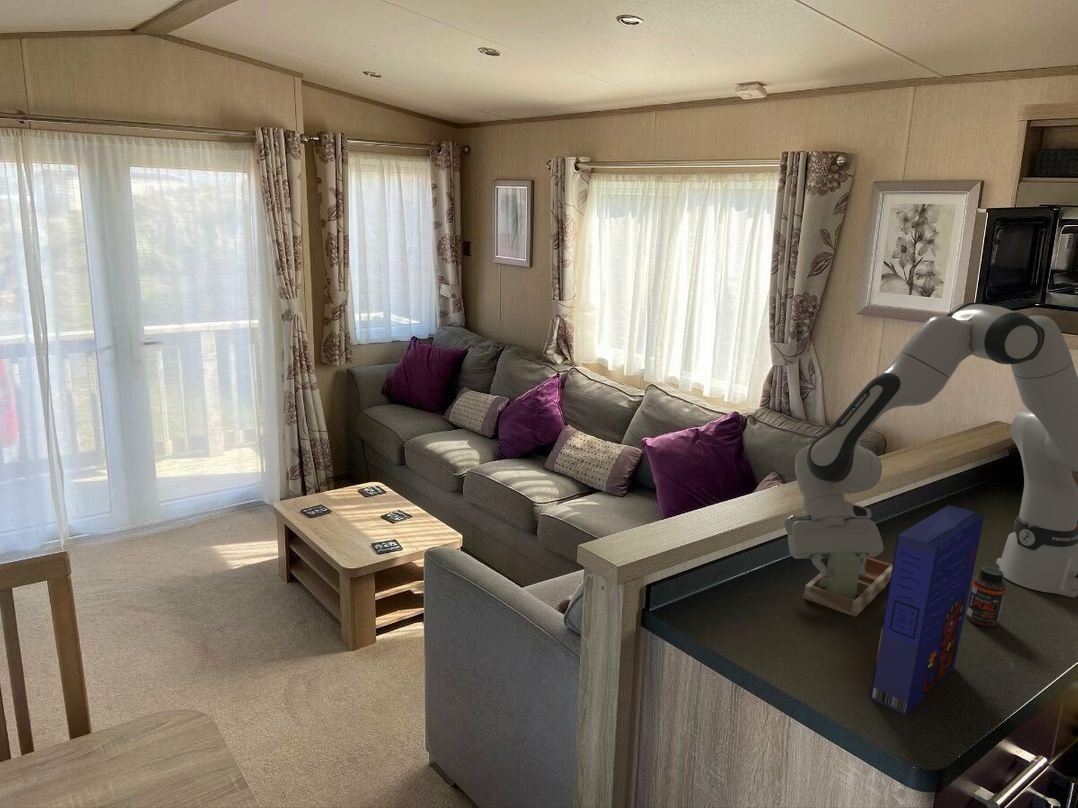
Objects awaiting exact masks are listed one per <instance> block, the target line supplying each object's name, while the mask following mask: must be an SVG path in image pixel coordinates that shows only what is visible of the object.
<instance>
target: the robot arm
mask: <svg viewBox="0 0 1078 808" xmlns="http://www.w3.org/2000/svg"><path fill="white" fill-rule="evenodd" d="M1061 331H1062V330H1060V328H1059V326H1058V325H1057V323H1056V322H1055V321H1054V320H1053V319H1052V318H1050V317H1048V316H1045V315H1029V316H1028V315H1026V314H1024V313H1021V312H1017V311H1014V310H1011V309H1009V308H1006V307H1002V306H999V305H990V304H985V303H982V302H976V301H973V302H964V303H961V304H959V305H957V306H955V307H953V308H952V309H951V310H950V311H948V313H946V314H945V315H943V314H942V315H934V316H932V317H930V318H929V319H927V320H926V321H925V322H924V323H923V324H921V326H920V327H919V328H918V329H917V331H916V332H915V333H914V334H913V335H912V336H911V337H910V339H909V340H908V341H907V342H906V343H905V345H904V346H903V348H902V349H901V351H900V352H898V353H899V354H898V355H897V357H896V358H895V359H894V360H893V361H892V362H891V363H890V364H889V366H888V367H887V368H886V369H885V370H884V371H883V372H882V373H880V374H878V375H876V376H875V377H873V379H872V380H870V382H868V383H867V384H866V385H865V387H864V388H863V389H862V390H861V391H860V392H859V393H858V394H857V396H856V397H855V398H854V399H853V401H851V402H850V404H849V405H848V406H847V408H845V410H844V411H843V412H842V413H841V415H840V416H839V417H838V418H837V419H836V421H835V422H834V423H833V424H832V425H831V426H830V427H829V428H827V430H824V432H822V433H820V434H819V435H818V436H817V437H816V438H815V439H814V440H813V441H812V442H811V444H810V445H806V446H805V447H803V448H802V449H800V451H798V452H797V454H796V456H795V460H794V469H795V470H794V471H795V476H796V482H797V486H798V489H799V491H800V493H801V495H802V499H803V509H804V512H805V515H790V516H789V517H787V518H786V519H785V521H784V528H785V531H786V533H787V542H788V543H787V544H788V550H789V554H790V555H791V557H793V558H794V559H795V560H796V559H811V563H812V564H813V566H814V567H816V569H817V570H818V571H819V574H820V575H821V577H822V578H829V577H830V576H831V572H830V568H829V567H826V565H825V564H824V563H823V562H822V560H823V559H829V554H831V552H852V553H854V554H855V555H856V556H857V557H858V558H860V559H861V565H860V572H859V577H864V576H865V575H866V572H865V568H864V567H865V564H866V560H867V557H869V558H876V557H878V556H879V555H881V554H882V553H883V551H884V542H883V539H882V537H881V533H880V532H879V528H878V527H877V524H876V523H875V522H874V521H873V520H871V519H870V518H872V512H871V509H869V508H867V507H864V506H862V505H861V506H860V505H857V504H854V503H852V502H849V501H846V499H845V496H846V495H849V494H855V493H860V492H865V491H868V490H871V489H872V488H874V487H875V486H876V485H877V483H878V482H879V481H880V478H881V477H882V472H883V469H882V461H881V459H880V458H879V456H878V455H877V454H875V453H874V452H873V451H871V450H870V449H867V448H866V447H863V446H861V445H859V443H860V441H862V439H863V438H864V436H866V434H867V433H868V432H869V431H870V429H871V428H872V427H873V426H874V425H875V423H876V422H878V420H879V419H880V418H881V417H882V415H884V414H886V413H887V412H888V411H891V410H892V409H895V408H899V407H900V408H901V407H911V406H912V407H914V406H921V405H925V404H927V403H929V402H931V401H932V400H934V399H935V398H936V397H937V395H939V393H940V392H941V391H942V390H943V389H944V387H946V385H947V383H948V382H949V380H950V379H951V378H952V376H953V375H954V373H955V372H956V370H957V368H958V366H959V365H960V363H961V362H962V361H963V360H965V359H967V358H968V357H970V356H974V357H977V358H980V359H983V360H989V361H993V362H995V363H997V364H999V365H1000V364H1001V365H1010V366H1011V367H1010V368H1011V371H1012V373H1013V378H1014V380H1015V384H1016V386H1017V390H1018V392H1019V396H1020V400H1021V402H1022V403H1023V405H1024V407H1026V408H1024V409H1022V410H1021V411H1020V412H1018V413H1017V414H1016V416H1015V417H1014V418H1013V420H1012V422H1011V425H1010V431H1009V432H1010V436H1011V439H1012V441H1013V442H1014V444H1015V445H1016V447H1017V449H1018V452H1019V455H1020V457H1021V463H1022V468H1023V478H1024V481H1023V483H1024V485H1023V492H1022V496H1021V497H1022V498H1021V505H1020V508H1019V514H1017V515H1016V519H1014V526H1013V532H1011V533H1009V534H1008V537H1007V540H1006V543H1005V546H1004V549H1003V552H1002V556H1001V557H998V558H997V559H996V563H995V564H996V565H997V566H998V567H999V568H998V569H999V570H1001V571H1002V572H1003V578H1005V579H1007V580H1008V581H1010V582H1012V583H1014V584H1016V585H1019V586H1021V587H1023V588H1027V589H1030V590H1034V591H1039V592H1043V593H1049V594H1050V593H1051V594H1056V595H1061V596H1064V597H1068V598H1076V597H1078V524H1077V523H1078V485H1077V483H1076V480H1075V479H1074V477H1073V474H1072V472H1075V473H1078V374H1077V371H1076V368H1075V364H1074V361H1073V358H1072V355H1071V352H1070V349H1069V346H1068V342H1066V339H1065V337H1064V335H1063V333H1062V332H1061Z"/></svg>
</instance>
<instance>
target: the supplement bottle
mask: <svg viewBox="0 0 1078 808" xmlns="http://www.w3.org/2000/svg"><path fill="white" fill-rule="evenodd" d="M979 573H980V574H977V575H976V576H974V578H972V582H971V587H970V591H969V596H968V600H967V605H966V610H965V616H966V618H967V620H969V621H970V622H972V624H974V625H978V626H982V627H987V628H993V627H996V626H997V625H998V624H999V621H1000V616H1001V612H1002V609H1003V608H1002V607H1003V603H1004V599H1005V594H1006V590H1007V585H1006V583H1005V582H1004V581H1003V578H1004V576H1003V572H1002V571H1001V570H999V568H996V567H994V566H982V567H980V572H979Z"/></svg>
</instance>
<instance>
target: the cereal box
mask: <svg viewBox="0 0 1078 808" xmlns="http://www.w3.org/2000/svg"><path fill="white" fill-rule="evenodd" d="M984 519H985V515H983V514H980V513H979V512H976V511H973V510H970V509H966V508H963V507H958V506H953V505H949V504H948V505H946V506H945V507H942V508H941V509H939V510H938V511H936V512H935V513H933V514H931V515H929V516H928V517H926V518H924V519H923V520H921V521H919V522H918V523H916V524H913V526H910V527H909V528H908V529H906V530H904V531H902V532H900V533H899V534H897V538H896V544H895V549H894V554H893V562H892V565H893V566H892V572H891V578H890V583H889V585H888V589H887V590H888V591H887V596H886V603H885V609H884V614H883V620H882V624H881V625H882V626H881V630H880V631H881V633H880V637H879V641H878V642H879V643H878V648H877V654H876V659H875V660H876V661H875V667H874V672H873V678H872V684H871V689H870V695H869V699H870V698H871V699H870V700H872V699H873V701H875V702H877V703H879V704H881V705H883V706H886V707H887V706H888V708H889V707H890V709H891V708H892V709H891V710H894V711H896V712H898V713H900V714H902V715H904V716H906V715H907V714H908V713H909V712H910V711H912V709H913V708H914V707H915V706H916V705H918V703H919V702H920V701H922V700H923V699H924V697H925V696H927V695H928V694H929V693H930V692H931V691H932V690H933V689H934V688H935V687H936V686H937V685H938V684H939V683H940V682H941V681H942V680H943V679H944V678H945V677H947V675H948V674H949V673H950V672H951V671H953V669H955V667H956V666H955V664H956V659H957V655H958V650H959V644H960V640H961V633H962V629H963V625H964V619H965V616H966V611H967V606H968V601H969V596H970V591H971V586H972V581H973V575H974V574H973V573H974V570H975V569H974V568H975V564H976V559H977V554H978V549H979V546H980V540H981V535H982V529H983V525H984ZM940 680H941V681H940ZM938 682H939V683H938ZM937 683H938V684H937ZM935 685H936V686H935ZM934 686H935V687H934ZM933 687H934V688H933ZM932 688H933V689H932ZM931 689H932V690H931ZM929 691H930V692H929ZM926 694H927V695H926Z"/></svg>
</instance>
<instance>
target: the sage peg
mask: <svg viewBox="0 0 1078 808" xmlns="http://www.w3.org/2000/svg"><path fill="white" fill-rule="evenodd" d="M860 565H861V559H860V558H858V557H857V556H856V555H855V554H854V553H852V552H831V554H829V558H828V559H827V567H829V568H830V572H831V576H830V577H829V578H826V580H825V586H824V587H823V589H824V590H827V591H830V592H832V593H835V594H838V595H841V596H844V597H847V598H850V599H853V600H855V599H856V596H857V595H856V590H857V584H858V578H859V572H860Z"/></svg>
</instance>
